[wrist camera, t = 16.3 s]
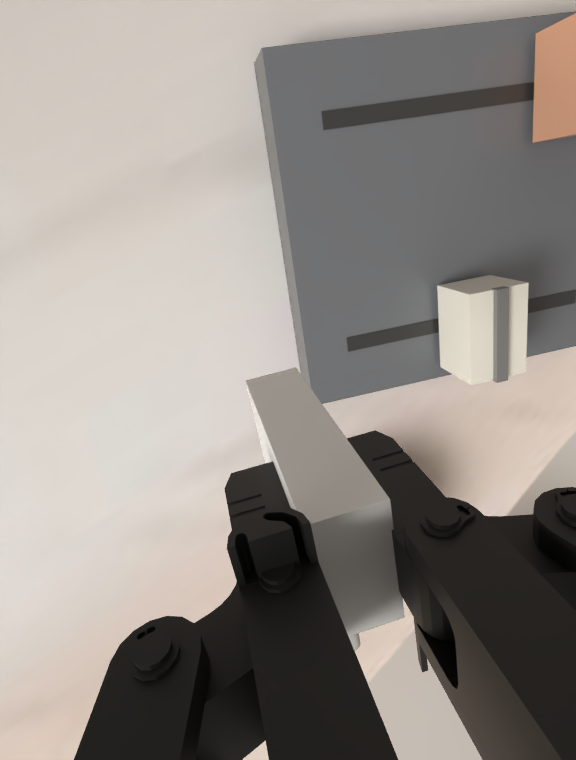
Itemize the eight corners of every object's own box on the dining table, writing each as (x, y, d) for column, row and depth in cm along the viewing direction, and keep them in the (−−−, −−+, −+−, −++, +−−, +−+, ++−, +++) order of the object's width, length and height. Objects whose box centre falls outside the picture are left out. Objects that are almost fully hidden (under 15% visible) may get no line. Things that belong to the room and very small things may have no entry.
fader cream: (437, 284, 33) (473, 294, 29) (490, 274, 33) (533, 282, 29) (440, 367, 35) (474, 388, 31) (490, 356, 36) (529, 374, 32)
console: (254, 63, 29) (262, 47, 27) (596, 22, 33) (636, 4, 30) (303, 391, 37) (313, 406, 34) (576, 330, 41) (606, 339, 38)
